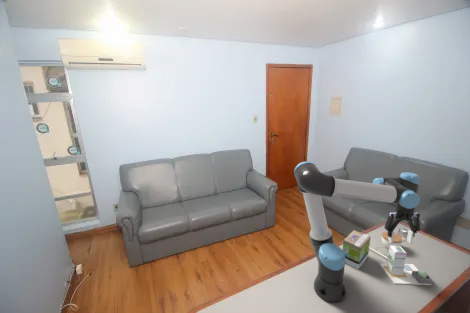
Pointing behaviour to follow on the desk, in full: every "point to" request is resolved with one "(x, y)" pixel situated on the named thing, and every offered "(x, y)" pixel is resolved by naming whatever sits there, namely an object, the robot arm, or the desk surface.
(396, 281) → the white button panel
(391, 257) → the syrup box
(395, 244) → the lidded jar
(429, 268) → the desk surface
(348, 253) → the tea box
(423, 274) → the button
